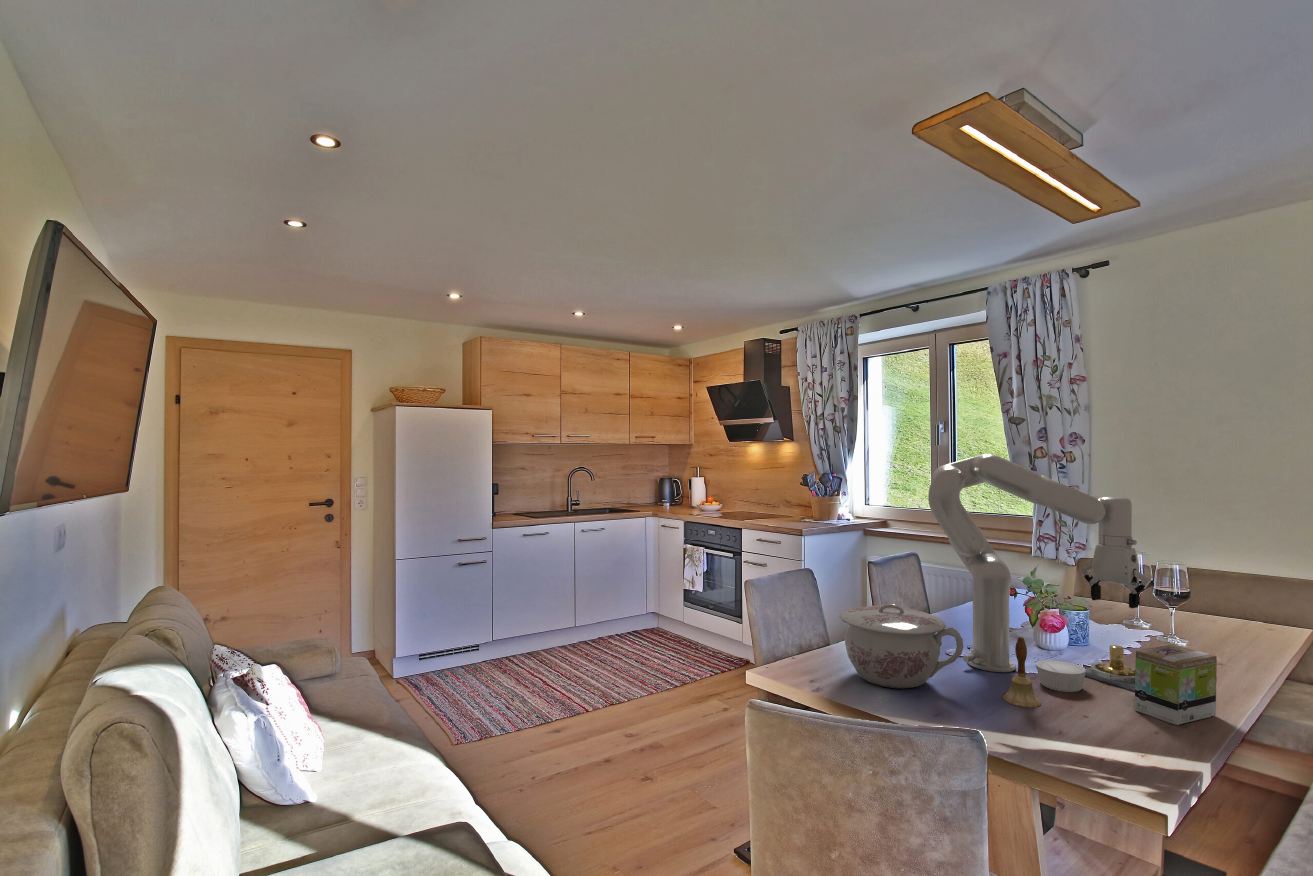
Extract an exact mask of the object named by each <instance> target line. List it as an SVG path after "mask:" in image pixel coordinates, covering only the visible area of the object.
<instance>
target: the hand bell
mask: <svg viewBox="0 0 1313 876" xmlns="http://www.w3.org/2000/svg"><path fill="white" fill-rule="evenodd" d="M1014 649H1015V651H1014V652H1015V657H1016V660H1017V675H1016V676H1013V677H1012V678H1011V682H1010V686H1009V689H1008V691H1006V693H1004V694H1003V696H1002V699H1003V700H1004V701H1005V702H1006V703H1008V704H1010V705H1013V706H1017V707H1022V708H1030V709H1032V707H1034V708H1037V707H1040V706H1041V704H1042V703H1041V701H1040V699H1039V698H1037V697H1038V696H1037V695H1035V692H1034V686H1033V682H1032V680H1031V679H1029V678H1028V677H1027V674H1026V659H1027V656H1028V648H1027V644H1026V641H1025V638H1024V637H1022V636H1018V637H1017V639H1016V643H1015V647H1014Z"/></svg>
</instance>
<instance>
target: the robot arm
mask: <svg viewBox="0 0 1313 876" xmlns="http://www.w3.org/2000/svg"><path fill="white" fill-rule="evenodd" d="M931 479H932V480H931V481H932V482H931V484H930V486H929V488H928V497H927V499H928V500H927V501H928V504H929V508H930V510H931V512H932V515H933V516H934V519H936V521H937V523H938V524H939V526H940V527H941V529H942V530H943V532H944V534H945V535H946V536H947V538H948V542H949V545H950V546H951V547H952V549H953V550H954V551H955V553H956V554H957V556H958V558H959V559H960V561H961V562H962V563H963V565H964V566H965V568H966V569H967V570H968V572H969V573H970V575H971V576H972V578H973V579H972V580H973V583H972V584H973V585H972V648H971V649H970V653H969V654H965V655H963V656H962V659H963V662H965V663H967V664H968V665H969V666H971V667H974V668H975V669H978V670H982V671H985V672H986V671H987V672H993V673H1009V672H1013V671H1015V670H1017V669H1016V663H1015V662H1014V661H1012V660H1010V594H1011V586H1012V585H1011V583H1012V578H1011V572H1010V569H1009V567H1008V565H1007V564H1006V563H1005V562H1004V560H1003V559H1001V558H1000V557H999V555H998V554H997V552H996V551H995V550H994V549H993V547H992V546H991V544H990V543H989V541H988V540H987V537H985V534H984V532H983V531H982V530H981V528H980V527H979V526H978V525H977V524H976V523H975V521H974V520H973V518H972V517H971V516H970V514H969V513H968V511H967V509H966V508H965V507H964V505H963V504H962V502H961V498H960V494H961V491H962V489H966V488H970V487H973V486H977V485H981V484H983V483H986V484H988V485H990V486H992V487H994V488H997V489H999V490H1001V491H1004V492H1006V493H1008V494H1011V495H1013V496H1016V497H1017V498H1020V499H1022V500H1024V501H1026V502H1028V503H1029V502H1030V503H1032V504H1035V505H1039V506H1042V507H1045V508H1048V509H1050V510H1053V511H1055V512H1057V513H1060V514H1062V515H1064V516H1066V517H1068V518H1071V519H1072V520H1074V521H1076V522H1080V523H1082V524H1085V525H1096V524H1098V543H1097V544H1095V548H1094V551H1093V553H1094V554H1093V557H1092V564H1090V565H1087V566H1085V567H1081V571H1082V575H1083V577H1084V579H1085V580H1086V581H1087V582H1088V585H1089V586H1090V597H1091V600H1092V601H1099V600H1101V597H1102V592H1101V591H1102V587H1101V585H1100V583H1101V582H1106V583H1111V584H1115V585H1116V584H1117V585H1121V586H1126V588H1128V590H1129V591H1130V593H1128V608H1129V609H1137V608H1139V605H1140V596H1141V595H1140V594H1141V593H1142V592H1143V591H1145V590H1146V589H1147V588H1148V586H1149V585H1150V583H1151V582H1152V580H1151V578H1149V577H1148V576H1146V575H1145V574H1143V573H1141V572H1140V568H1139V559H1138V555H1137V552H1136V551H1137V550H1136V548H1134V547H1133V546H1136V545H1137V540H1136V539H1133V536H1132V523H1133V522H1132V521H1133V520H1132V518H1133V515H1132V513H1133V512H1132V511H1133V509H1132V508H1133V504H1132V501H1131V499H1129V498H1128V497H1122V496H1103V497H1102V496H1093V495H1090V494H1087V493H1084V492H1082V491H1080V490H1078V489H1074V488H1073V487H1070V486H1067V485H1065V484H1063V483H1060V482H1058V481H1056V480H1054V479H1052V478H1050V477H1048V476H1046V475H1044V474H1041V473H1039V472H1037V471H1034V470H1032V469H1029V468H1027V467H1025V466H1023V465H1020V464H1019V463H1018V464H1017V463H1015V462H1013V461H1012V460H1011V461H1010V460H1008V459H1006V458H1003V457H1002V456H999V455H996V454H993V453H983V454H982V453H981V454H979V455H976V456H972V457H969V458H965V459H962V460H958V461H955V462H951V463H947V464H943V465H941V466H939V467H937V468H936V469H935V470H934V472H933V474H932V477H931ZM1091 572H1092V574H1091ZM1140 582H1141V583H1140ZM1139 583H1140V584H1139ZM1138 584H1139V585H1138Z"/></svg>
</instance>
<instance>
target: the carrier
mask: <svg viewBox="0 0 1313 876" xmlns="http://www.w3.org/2000/svg"><path fill="white" fill-rule="evenodd" d="M1101 663H1103V664H1109V663H1110V662H1102V661H1101V662H1093V663H1090V667H1089V668H1087V669H1085V671H1086V675H1085V676H1084V677H1086V676H1087V677H1086V678H1090V679H1093V680H1097V681H1100V682H1103V683H1106V684H1110V685H1113V686H1116V687H1119V688H1122V689H1125V690H1129V691H1132V692H1135V676H1120V675H1114V674H1109V673H1106V672H1103V671H1100V670H1099V664H1101ZM1124 666H1128V665H1125V664H1124ZM1128 668H1130V669H1134V670H1135V667H1132V666H1128Z"/></svg>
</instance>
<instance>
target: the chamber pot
mask: <svg viewBox="0 0 1313 876" xmlns="http://www.w3.org/2000/svg"><path fill="white" fill-rule="evenodd" d="M839 618H840V619H841V621H842V622H843V623H845V624H847V625H848V627H847V628H846V630H845V633H844V646H845V650H846V653H847V654H846V655H847V658H848V659H849V661H850V662H851V664H852V666H853V668H854V669H855V671H856V673H857V674H858V675H859V677H860V678H862V679H863V680H865V681H867V682H868V683H871V684H874V685H876V686H879V687H883V688H888V689H895V690H896V689H898V690H900V689H901V690H903V689H904V690H905V689H912V688H917V687H920V686H923V684H925V683H926V682H927V681H928V680H929V679H931V678H932V677H933V676H935V675H936V674H937V673H938V672H939V671H940V670H941V669H943V668H944V667H946V666H948V665H950V664H952V663H954V662H955V661H956V660H957V659H958V658H959V657H960V656H961V655H962V654H963V650H964V639H963V637H962V635H961V633H959V631H958V630H957V629H955V628H954V627H953V626H949V627H947V622H945V621H944V620H943V619H942V618H941V617H938V616H936V615H933V614H931V613H928V612H925V611H920V610H917V609H913V608H909V607H907V608H906V607H901V606H899V605H897V604H894V603H886V604H883V605H868V606H867V605H866V606H858V607H851V608H848V609H846V610H843V611H841V612H840V614H839ZM944 636H950V637H953V638H954V639H955V644H956V647H955V652H954V653H952V654H951V656H949V657H948V658H946V659H943V660H940V656H941V647H942V646H943V637H944Z"/></svg>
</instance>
